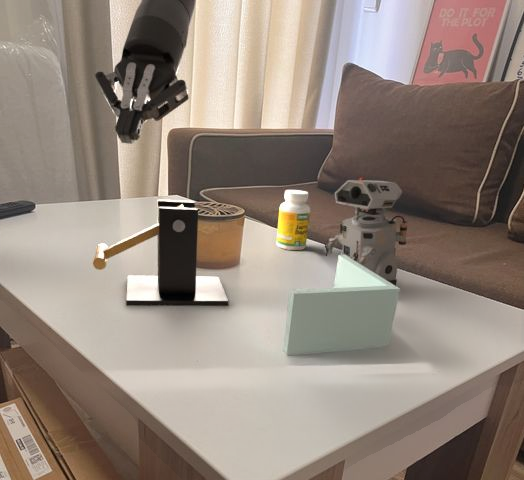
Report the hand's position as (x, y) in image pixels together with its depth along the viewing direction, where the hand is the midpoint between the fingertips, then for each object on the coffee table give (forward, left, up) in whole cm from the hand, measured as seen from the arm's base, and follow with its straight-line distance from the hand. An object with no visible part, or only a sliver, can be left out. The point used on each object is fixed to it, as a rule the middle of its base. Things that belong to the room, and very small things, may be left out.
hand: (125, 139), depth 67 cm
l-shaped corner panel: (+21, -22, -18) cm, 35 cm away
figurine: (+33, -4, -18) cm, 38 cm away
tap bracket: (+6, -11, -17) cm, 21 cm away
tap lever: (+2, -11, -11) cm, 16 cm away
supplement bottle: (+28, +15, -18) cm, 36 cm away
